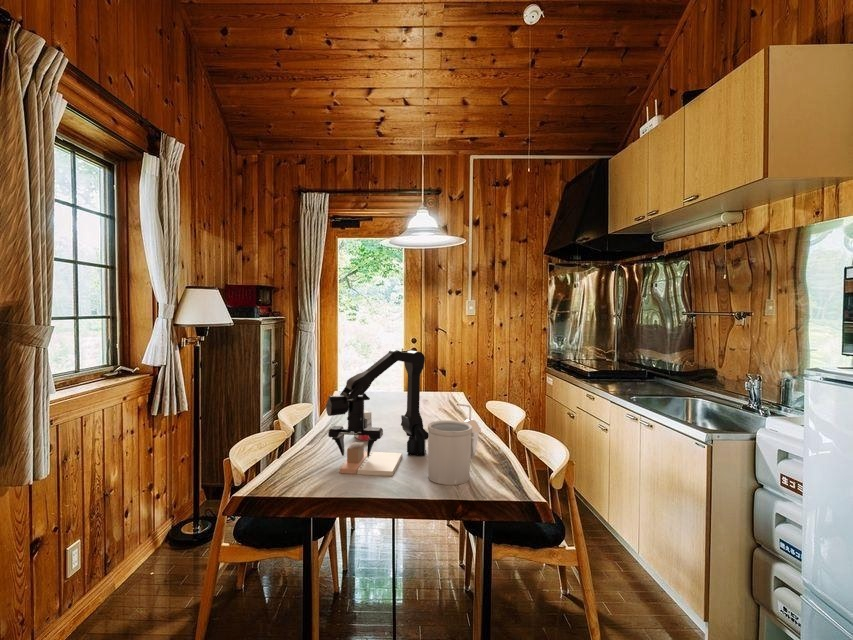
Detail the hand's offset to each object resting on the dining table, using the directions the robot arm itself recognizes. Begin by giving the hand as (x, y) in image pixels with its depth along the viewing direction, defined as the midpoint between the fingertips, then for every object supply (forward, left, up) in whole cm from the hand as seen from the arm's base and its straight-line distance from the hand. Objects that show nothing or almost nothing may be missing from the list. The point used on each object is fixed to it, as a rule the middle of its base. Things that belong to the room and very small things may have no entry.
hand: (355, 456), depth 168 cm
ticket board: (-9, 0, -3) cm, 10 cm away
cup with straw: (-40, -16, -3) cm, 43 cm away
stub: (0, 0, -3) cm, 3 cm away
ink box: (+6, -33, -3) cm, 34 cm away
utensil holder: (-34, +9, -3) cm, 36 cm away
